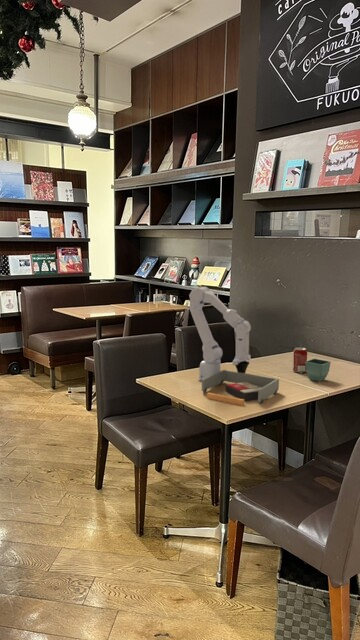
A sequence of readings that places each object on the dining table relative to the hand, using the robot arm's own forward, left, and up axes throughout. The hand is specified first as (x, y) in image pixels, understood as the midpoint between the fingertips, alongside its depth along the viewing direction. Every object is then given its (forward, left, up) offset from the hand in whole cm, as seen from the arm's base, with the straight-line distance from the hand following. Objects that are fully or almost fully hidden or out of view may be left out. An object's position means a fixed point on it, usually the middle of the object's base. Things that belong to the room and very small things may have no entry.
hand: (241, 377), depth 209 cm
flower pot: (+26, +28, -4) cm, 39 cm away
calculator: (+8, -12, -4) cm, 15 cm away
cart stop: (+5, -25, -3) cm, 26 cm away
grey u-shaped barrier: (+5, -12, -3) cm, 13 cm away
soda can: (+14, +38, -4) cm, 41 cm away
